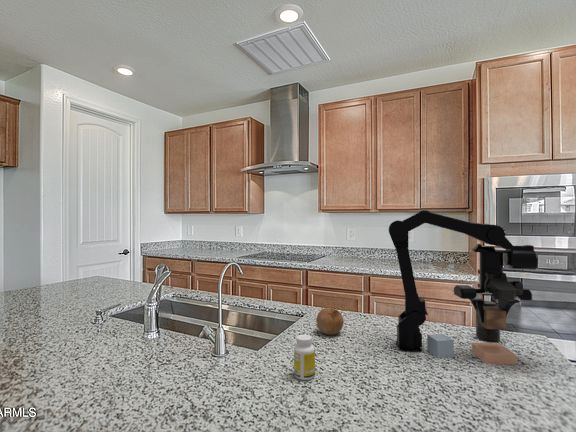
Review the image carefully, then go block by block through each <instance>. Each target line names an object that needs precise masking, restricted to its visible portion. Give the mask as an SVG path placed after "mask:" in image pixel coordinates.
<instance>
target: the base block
mask: <svg viewBox="0 0 576 432" xmlns="http://www.w3.org/2000/svg"><path fill="white" fill-rule="evenodd" d="M471 352H472V353H473V354H474V355H475V356H476V357H478V358H479V359H480V360H481V361H482V362H483V363H484V364H492V365H493V364H496V365H497V364H499V365H517V355H516V353H514V352H513V351H511V350H510V349H509V348H507V347H506V346H504V345H503V344H502V343H500V342H475V341H474V342H472V341H471Z"/></svg>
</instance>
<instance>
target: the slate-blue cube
mask: <svg viewBox="0 0 576 432" xmlns="http://www.w3.org/2000/svg"><path fill="white" fill-rule="evenodd" d="M426 337H427V339H426V340H427V341H426V342H427V343H426V344H427V346H426V347H427V348H426V350H427V352H428V353H429V354H431V355H432V356H434V357H435V358H436V359H444V358H445V359H446V358H454V339H452V338H451V337H449V336H447V335H446V334H444V333H433V334H432V333H431V334H427V336H426Z"/></svg>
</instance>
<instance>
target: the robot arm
mask: <svg viewBox="0 0 576 432" xmlns="http://www.w3.org/2000/svg"><path fill="white" fill-rule="evenodd" d="M424 224H428V225H431V226H436V227H438V228H443V229H446V230H450V231H453V232H457V233H462V234H464V235H466V236H469V238H472V239H475V240H477V241H480V242H482V243H483V244H486V246H484V245H482V244H481V243H476V245H475V246H474V247H472V248H471V251H472V252H474V253H479V269H477V274H478V275H479V283H477V287H478V288H474V287H472V286H470V285H468V284H467V285H466V284H465V285H464V284H462V285H461V284H458V285H457V284H456V285H455V286H454V288H453V295H455V296H456V297H458V298H459V299H464V300H469V301H470V303H471V304H472V306H473V308H474V310H475V314H476V313H477V315H478V317H479V319H480V321H481V322H482V323H483V322H484V311H483V304H484V302H485V301H486V300H485V299H482V297H483V296H485V297H486V296H491V297H493V298H494V299H496V300H497V301H498V302H497V303H498V305H497V307H498V308H500V309H502V310H504V311H506V317H507V316H508V313H509V312H510V310H511V309H512V307H513V306H514V305H516V304H520V301H533V293H532V291H531V290H530V289H529V288H525V287H524V283H523V282H521V281H519V280H512V281H510V280H509V281H508V278H507V277H508V275H507V273H505V272H504V265H505V266H508V268H509V269H510V270H528V271H531V270H533V271H535V270H537V268H538V264H539V263H538V262H539V261H538V260H539V259H538V257H537V254H536V251H535V250H534V248H535V247H534V245H532V244H523V245H513V244H512V243H511V241H510V240H509V239H508V238H507V237H506V232H505V230H504V228H503V227H502V226H500V225H497V224H492V223H491V224H490V223H481V222H470V221H466V220H463V219H459V218H456V217H455V218H454V217H451V216H447V215H444V214H441V213H435V212H432V211H430V210H427V209H422V210H419V211H418V212H417V213H415V214H413V215H411V216H409V217H407V218H406V219H403V220H399V219H398V220H394V221H393V222H391V223H390V224H389V226H388V234H389V236H390V239H391V241H392V243H393V246H394V248H395V251H396V255H397V256H396V257H397V261H398V265H399V271H400V276H401V280H402V285H403V291H404V311H403V312H401V313H400V314H398V318H397V319H398V320H397V321H398V324H397V325H396V341H395V344H396V346H397V347H398V349H399V351H403V352H405V351H406V352H407V351H408V352H423V349H422V347H423V334H422V332H421V328H420V326H422V325H424V323H425V322H426V320H427V318H426V317H427V316H428V315H429V314H428V310H427V307H426V299H425V297H424V296H419V294H418V291H417V286H416V281H415V275H414V270H413V265H412V260H411V255H410V251H409V232H410V231H413V230H414V229H416V228H418V227H421V226H422V225H424ZM487 245H491V246H487ZM494 246H495V247H497V248H501V249H496V248H495V247H494ZM517 298H518V299H519V300H518V299H517Z"/></svg>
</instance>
